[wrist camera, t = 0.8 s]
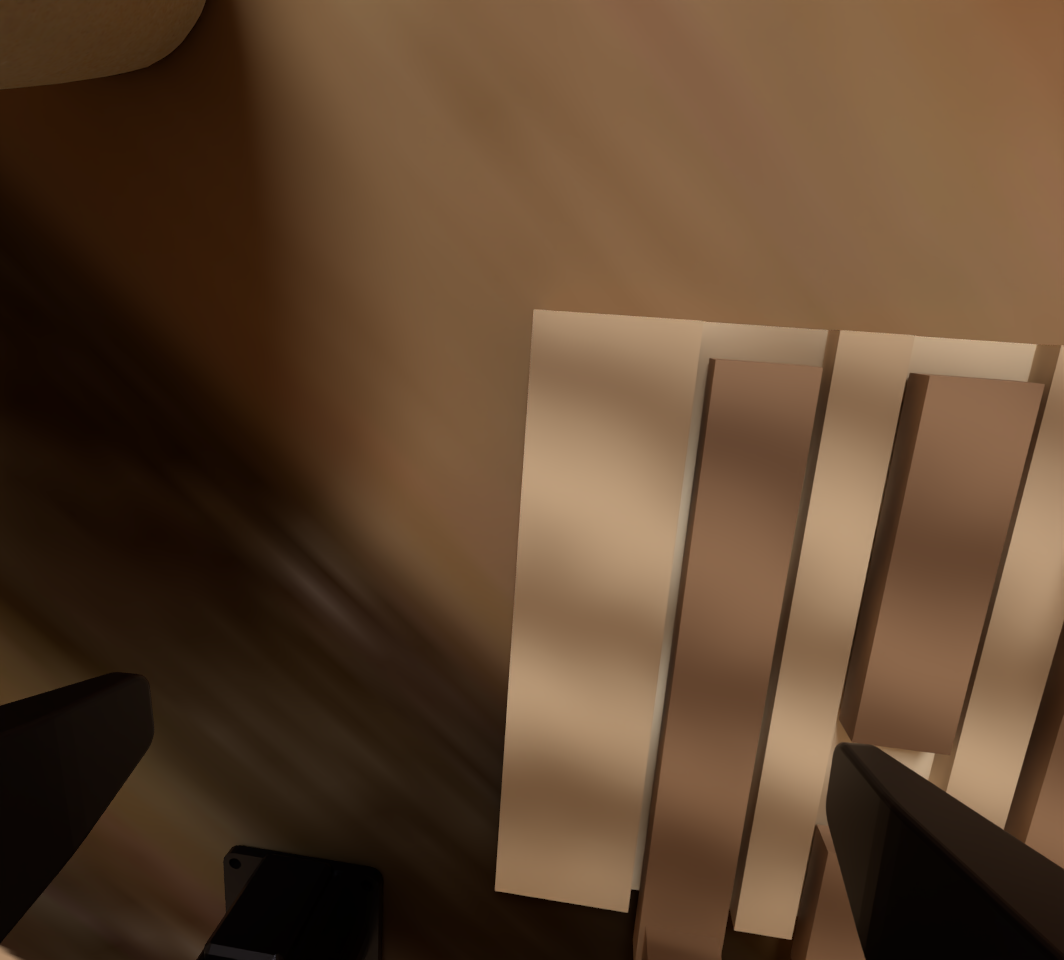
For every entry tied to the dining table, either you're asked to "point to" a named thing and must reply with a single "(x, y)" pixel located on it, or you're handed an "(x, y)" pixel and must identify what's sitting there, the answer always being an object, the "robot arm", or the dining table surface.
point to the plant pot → (87, 37)
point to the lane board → (808, 603)
